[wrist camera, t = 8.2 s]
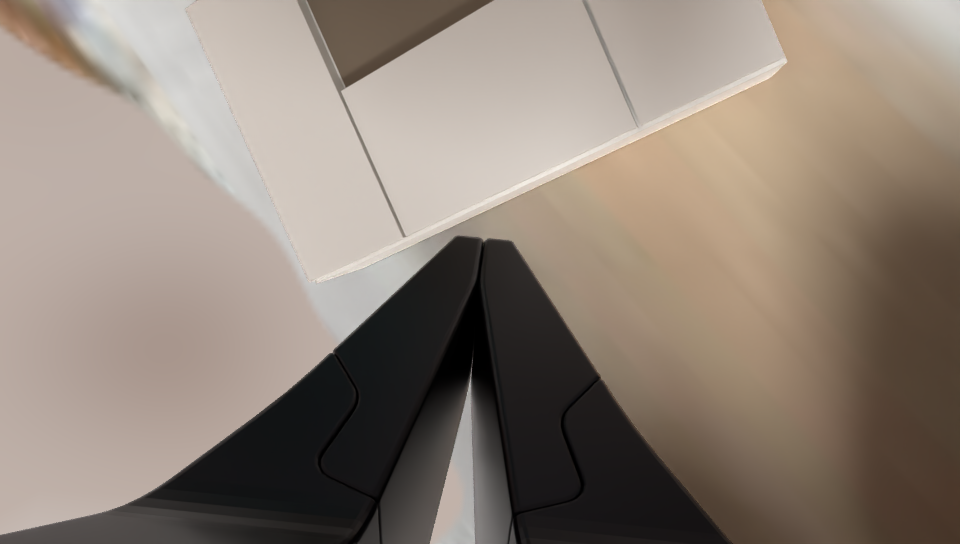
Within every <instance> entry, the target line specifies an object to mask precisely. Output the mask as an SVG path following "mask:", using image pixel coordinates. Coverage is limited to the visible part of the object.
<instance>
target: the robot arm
mask: <svg viewBox="0 0 960 544" xmlns="http://www.w3.org/2000/svg"><path fill="white" fill-rule="evenodd" d="M472 359H473V362H472ZM471 368H472V375H471ZM470 375H471V413H472V447H473V480H474V513H475V544H733V543H732V542H731V541H730V540H729V539H728V538H727V537H726V536H725V535H724V533H723V532H722V531H721V530H720V529H719V527H718V526H717V525H716V524H715V523H714V522H713V520H712V519H711V518H710V517H709V516H708V514H707V513H706V512H705V511H704V510H703V509H702V507H701V506H700V505H699V504H698V503H697V501H696V500H695V499H694V498H693V497H692V496H691V494H690V493H689V492H688V491H687V490H686V488H685V487H684V486H683V485H682V484H681V483H680V481H679V480H678V479H677V478H676V477H675V475H674V474H673V473H672V472H671V471H670V470H669V468H668V467H667V466H666V465H665V464H664V462H663V461H662V460H661V459H660V458H659V456H658V455H657V454H656V453H655V451H654V450H653V449H652V448H651V446H650V445H649V444H648V443H647V441H646V440H645V439H644V438H643V436H642V435H641V434H640V433H639V431H638V430H637V429H636V428H635V426H634V425H633V424H632V422H631V421H630V419H629V418H628V416H627V415H626V414H625V412H624V411H623V409H622V408H621V406H620V405H619V404H618V402H617V401H616V399H615V398H614V396H613V395H612V393H611V392H610V390H609V388H608V387H607V385H606V384H605V382H604V381H603V380H601V377H600V375H599V373H598V372H597V370H596V369H595V367H594V366H593V364H592V363H591V361H590V360H589V358H588V356H587V355H586V353H585V352H584V350H583V349H582V347H581V346H580V344H579V343H578V341H577V340H576V338H575V336H574V335H573V333H572V332H571V330H570V329H569V327H568V326H567V324H566V323H565V321H564V320H563V318H562V317H561V315H560V313H559V312H558V310H557V309H556V307H555V306H554V304H553V303H552V301H551V300H550V298H549V297H548V295H547V293H546V292H545V290H544V289H543V287H542V286H541V284H540V283H539V281H538V280H537V278H536V277H535V275H534V273H533V272H532V270H531V269H530V267H529V266H528V264H527V263H526V261H525V260H524V258H523V257H522V255H521V254H520V252H519V250H518V249H517V247H516V246H515V244H514V243H513V242H512V241H510V240H500V239H487V240H485V242H483V240H482V239H481V238H479V237H468V236H456V237H454V238H453V239H452V240H451V241H450V242H449V243H448V244H447V245H446V246H445V247H443V248H442V249H441V250H440V251H439V252H438V253H437V254H436V255H435V256H434V257H433V258H432V259H431V260H430V261H428V262H427V263H426V264H425V265H424V266H423V267H422V268H421V269H420V270H419V271H418V272H417V273H416V274H415V275H413V276H412V277H411V278H410V279H409V280H408V281H407V282H406V283H405V284H404V285H403V286H402V287H401V288H399V289H398V290H397V291H396V292H395V293H394V294H393V295H392V296H391V297H390V298H389V299H388V300H387V301H386V302H384V303H383V304H382V305H381V306H380V307H379V308H378V309H377V310H376V311H375V312H374V313H373V314H372V315H371V316H369V317H368V318H367V319H366V320H365V321H364V322H363V323H362V324H361V325H360V326H359V327H358V328H357V329H356V330H354V331H353V332H352V333H351V334H350V335H349V336H348V337H347V338H346V339H345V340H344V341H343V342H342V343H340V344H339V345H338V346H337V347H336V348H335V349H334V350H333V353H330V354H328V355H327V356H326V357H325V358H324V359H323V360H322V361H321V362H320V363H319V364H318V365H317V366H315V367H314V368H313V369H312V370H311V371H310V372H309V373H308V374H306V375H305V376H304V377H303V378H302V379H301V380H300V381H299V382H297V384H295V385H294V386H293V387H292V388H290V389H289V390H288V391H287V392H286V393H285V394H283V395H282V396H281V397H279V398H278V399H277V400H275V401H274V402H273V403H272V404H270V405H269V406H268V407H267V408H265V409H264V410H263V411H261V412H260V413H259V414H257V415H256V416H255V417H253V418H252V419H251V420H249V421H248V422H247V423H246V424H244V425H243V426H241V427H240V428H239V429H237V430H236V431H234V432H233V433H232V434H230V435H229V436H228V437H226V438H225V439H224V440H222V441H221V442H220V443H218V444H217V445H215V446H214V447H213V448H212V449H210V450H209V451H207V452H206V453H205V454H203V455H202V456H201V457H199V458H198V459H196V460H195V461H194V462H192V463H191V464H190V465H188V466H187V467H186V468H184V469H183V470H181V471H180V472H179V473H178V474H176V475H175V476H173V477H172V478H171V479H169V480H168V481H166V482H165V483H163V484H162V485H160V486H159V487H157V488H156V489H154V490H152V491H151V492H149V493H147V494H146V495H144V496H142V497H140V498H138V499H136V500H134V501H132V502H130V503H128V504H125V505H123V506H120V507H118V508H115V509H112V510H109V511H106V512H102V513H98V514H94V515H90V516H85V517H81V518H76V519H71V520H67V521H62V522H58V523H53V524H49V525H44V526H39V527H35V528H31V529H26V530H21V531H17V532H12V533H8V534H3V535H0V544H430V540H431V536H432V532H433V528H434V524H435V520H436V515H437V512H438V507H439V504H440V499H441V496H442V491H443V488H444V484H445V480H446V476H447V471H448V468H449V464H450V460H451V456H452V452H453V448H454V444H455V440H456V436H457V432H458V428H459V424H460V420H461V416H462V412H463V408H464V404H465V400H466V396H467V391H468V386H469V382H470Z"/></svg>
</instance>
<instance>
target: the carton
mask: <svg viewBox="0 0 960 544" xmlns="http://www.w3.org/2000/svg"><path fill="white" fill-rule="evenodd" d="M185 10H186V12H187V15H188V17H189V19H190V21H191V23H192V26H193V28H194V30H195V32H196V34H197V37H198V39H199V41H200V43H201V45H202V48H203V50H204V52H205V54H206V57H207V59H208V61H209V63H210V65H211V68H212V70H213V72H214V74H215V76H216V79H217V81H218V83H219V85H220V87H221V90H222V92H223V94H224V96H225V98H226V101H227V103H228V105H229V107H230V109H231V112H232V114H233V116H234V118H235V121H236V123H237V125H238V127H239V129H240V132H241V134H242V136H243V138H244V140H245V143H246V145H247V147H248V149H249V151H250V154H251V156H252V158H253V160H254V162H255V165H256V167H257V169H258V171H259V174H260V176H261V178H262V180H263V182H264V185H265V187H266V189H267V191H268V193H269V196H270V198H271V200H272V202H273V204H274V207H275V209H276V211H277V213H278V215H279V218H280V220H281V222H282V224H283V227H284V229H285V231H286V233H287V235H288V238H289V240H290V242H291V244H292V246H293V249H294V251H295V253H296V255H297V257H298V260H299V262H300V264H301V266H302V268H303V271H304V273H305V275H306V277H307V279H308V282H312V281H316V283H317V284H318V283H321V282H324V281H327V280H330V279H333V278H336V277H339V276H342V275H345V274H348V273H351V272H354V271H357V270H360V269H363V268H365V267H367V266H369V265H371V264H374V263H376V262H378V261H380V260H382V259H384V258H386V257H389V256H391V255H393V254H395V253H397V252H399V251H401V250H404V249H406V248H408V247H410V246H412V245H414V244H416V243H418V242H421V241H423V240H425V239H427V238H429V237H431V236H433V235H436V234H438V233H440V232H442V231H444V230H446V229H448V228H451V227H453V226H455V225H457V224H459V223H461V222H463V221H466V220H468V219H470V218H472V217H474V216H476V215H478V214H481V213H483V212H485V211H487V210H489V209H491V208H493V207H495V206H498V205H500V204H502V203H504V202H506V201H508V200H510V199H513V198H515V197H517V196H519V195H521V194H523V193H525V192H528V191H530V190H532V189H534V188H536V187H538V186H540V185H543V184H545V183H547V182H549V181H551V180H553V179H555V178H558V177H560V176H562V175H564V174H566V173H568V172H570V171H572V170H575V169H577V168H579V167H581V166H583V165H585V164H587V163H590V162H592V161H594V160H596V159H598V158H600V157H602V156H605V155H607V154H609V153H611V152H613V151H615V150H617V149H620V148H622V147H624V146H626V145H628V144H630V143H632V142H635V141H637V140H639V139H641V138H643V137H645V136H647V135H649V134H652V133H654V132H656V131H658V130H660V129H662V128H664V127H667V126H669V125H671V124H673V123H675V122H677V121H679V120H682V119H684V118H686V117H688V116H690V115H692V114H694V113H697V112H699V111H701V110H703V109H705V108H707V107H709V106H712V105H714V104H716V103H718V102H720V101H722V100H724V99H726V98H729V97H731V96H733V95H735V94H737V93H739V92H741V91H744V90H746V89H748V88H750V87H752V86H754V85H756V84H759V83H761V82H763V81H765V80H767V79H769V78H771V77H772V76H773V75H774V74H775V73H776V72H777V71H778V70H779V69H780V68H781V67H782V66H783V65H784V64H786V63H787V59H786V57H785V55H784V52H783V50H782V48H781V45H780V43H779V41H778V38H777V36H776V33H775V31H774V29H773V26H772V24H771V22H770V19H769V17H768V15H767V12H766V10H765V8H764V5H763V3H762V0H197V1H195V2H194V3H192V4H191V5H190V6H188V7H187V8H186V9H185Z"/></svg>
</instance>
